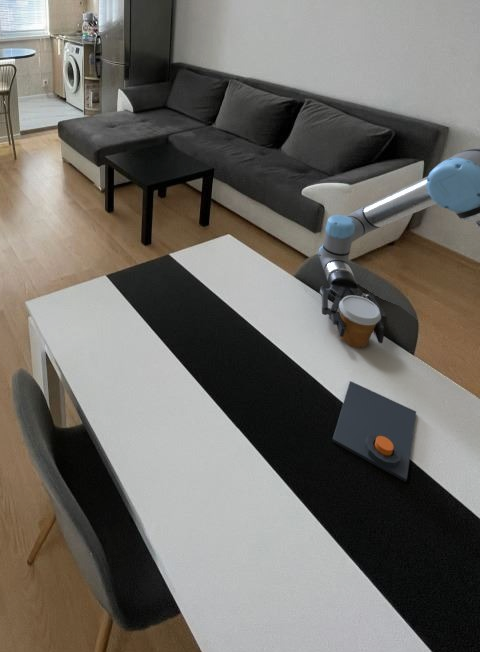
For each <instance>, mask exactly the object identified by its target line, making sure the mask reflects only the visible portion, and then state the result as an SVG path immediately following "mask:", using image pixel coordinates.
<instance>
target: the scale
mask: <svg viewBox="0 0 480 652" xmlns="http://www.w3.org/2000/svg"><path fill="white" fill-rule="evenodd" d="M345 393H346V394H345V396H344V399H343V403H342V406H341V410H340V413H339V417H338V420H337V423H336V426H335V430H334V433H333V437H332V440H331V441H332V443H334V444H336V445H338V446H340V447H342V448H343V449H345V450H347V451H349V452H350V453H352V454H353V455H356V456H357V457H359V458H361V459H363V460H365V461H366V462H368V463H370V464H372V465H374V466H376V467H377V468H379V469H381V470H383V471H384V472H386V473H389V474H390V475H392V476H394V477H396V478H398V479H399V480H400V481H403V482H405V483H407V480H408V477H409V476H408V475H409V468H410V460H411V453H412V447H413V439H414V431H415V424H416V417H417V411H416V410H414V409H411V408H410V407H407V406H405V405H403V404H401V403H399V402H396V401H395V400H392V399H390V398H388V397H386V396H383V395H381V394H379V393H377V392H375V391H373V390H371V389H369V388H367V387H365V386H362V385H360V384H358V383H356V382H353V381H352V380H350V381H349V383H348V387H347V390H346V392H345ZM378 436H383V437H386V438H388V439H389V440H390V441H391V442H392V443H393V446H394V449H393V452H392V454H391V455H390V456H384V455H382V454H381V453H379V452H378V451H377V450H376V448H375V441H376V438H377V437H378Z"/></svg>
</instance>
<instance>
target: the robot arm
mask: <svg viewBox="0 0 480 652" xmlns="http://www.w3.org/2000/svg"><path fill="white" fill-rule="evenodd" d="M434 205H438V206H439V207H441V208H443V209H447V210H449V211H452V212H454V213H455V214H456V216H457V217H458V218H459V219H460V220H462V221H465V222H466V221H467V222H469V223H472V224H473V225H474V226H475V227H476V228H477V229H478V230H479V231H480V147H472V148H467V149H464V150H462V151H459V152H458V153H456V154H455V155H453V156H451V157H449V158H447V159H445V160H443V161H441V162H439V163H438V164H437V165H436V166H435V167H434V168H433V169H432V170H431V171H430V172H429V173H428V175H427V176H425V177H423V178H421V179H419V180H417V181H415V182H413V183H411V184H408V185H406V186H404V187H403V188H400V189H399V190H396V191H394V192H392V193H390V194H388V195H386V196H384V197H382V198H379V199H378V200H376V201H373V202H371V203H369V204H367V205H366V206H363V207H360V208H358V209H355V210H354V211H352V212H350V213H349V214H348V215H344V214H343V215H342V214H336V215H335V214H333V215H331V216H329V217H328V219H327V222H326V225H325V230H324V231H325V232H324V238H323V244H322V245H320V247H319V248H318V259H319V261H320V263H321V267H322V269H323V273H324V275H325V278H326V281H327V285H328V287H326V286H324V285H320V289H319V295H320V296H321V313H322V315H323V316H326V315H327V316H328V318H329V320H331V323H332V325H334V326H336V328H337V331H338V334H339V337H340V336H341V337H343V336H344V332H345V328H344V325H343V321H342V318H341V316H340V310H339V309H340V308H339V302H340V301H341V300H342V299H343V298H344V297H346V296H350V295H354V296H360V297H363V298H366V299H368V300H370V301H372V302H373V303H374V304H375V305H377V307H378V308H379V311H380V314H381V319H380V321H379V322H377V324H376V326H375V328H374V330H373V332H374V335H375V337H376V340H377V342H378V343H379V344H383V342H384V338H385V333H384V329H385V326H384V325H386V324H387V319H388V314H387V313H386V312H385V311H384V309H383V308H382V307H381V305H380V303H379V302H378V301H377V299H376V298H375V294H374V293H373V292H371V291H369V292H368V293H364V292H363V291H362V290H361V289H360V287H359V285H358V284H359V283H358V282H357V280H356V278H355V275H354V273H353V270H352V269H351V265H350V263H349V258H350V253H351V248H352V244H353V243H354V242H355V241H357V240H359V239H360V238H361V237H363V236H364V235H366V234H368V233H370V232H373V231H375V230H377V229H380V228H382V227H384V226H386V225H388V224H391V223H394V222H396V221H398V220H400V219H403V218H405V217H408V216H410V215H413V214H416V213H418V212H421V211H422V210H425V209H427V208H429V207H430V208H431V207H432V206H434ZM319 255H321V256H319ZM342 259H344V260H347V261H348V262H347V261H344V260H342ZM330 295H331V296H332V297H333V298H334V300H333V302H332V306H331V307H329V296H330ZM338 310H339V311H338ZM341 337H340V338H341Z"/></svg>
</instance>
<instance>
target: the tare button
mask: <svg viewBox="0 0 480 652" xmlns="http://www.w3.org/2000/svg"><path fill="white" fill-rule="evenodd" d="M375 448H376V450H377V451H378V452H379V453H381V454H382V455H384V456H390V455H391V454H392V452H393V449H394V446H393V443H392V442H391V441H390V440H389V439H388V438H386V437H383V436H378V437H377V438H376V441H375Z"/></svg>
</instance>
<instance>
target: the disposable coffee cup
mask: <svg viewBox="0 0 480 652" xmlns="http://www.w3.org/2000/svg"><path fill="white" fill-rule="evenodd" d="M338 309H339V312H340V316H341V318H342V321H343V325H344V328H345V332H344V336H343V337H341V336H340V335H339V337H340V339H341V340H342V341H343V342H344V343H345V344H347V345H349V346H351V347H354V348H364V347H366V346H367V345H368V343H369V340H370V339H371V337H372V335H373V332H374V328H375V326H376V324H377V322H379V321H380V319H381V314H380V311H379V308H378V307H377V305H375V304H374V303H373V302H372V301H370V300H368V299H366V298H363V297H360V296H354V295H350V296H346V297H344V298H343V299H342V300H341V301H340V302H339V308H338Z"/></svg>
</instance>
